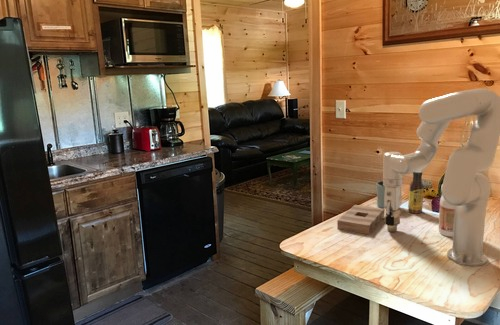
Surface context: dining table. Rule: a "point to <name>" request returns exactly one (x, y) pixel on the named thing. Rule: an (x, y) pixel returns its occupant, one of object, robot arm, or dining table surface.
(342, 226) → the walnut slab
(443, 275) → the dining table surface
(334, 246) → the dining table surface
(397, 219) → the wooden peg
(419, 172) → the sauce bottle
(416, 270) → the dining table surface
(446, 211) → the fruit juice
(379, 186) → the grey green cup
